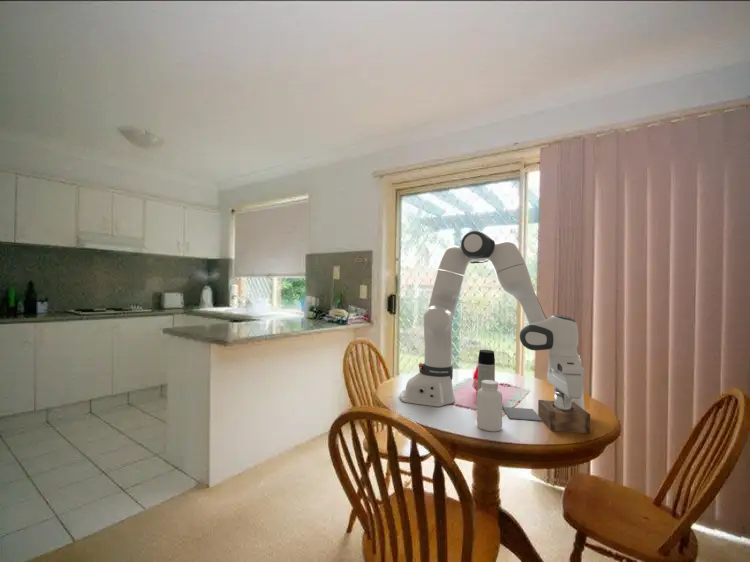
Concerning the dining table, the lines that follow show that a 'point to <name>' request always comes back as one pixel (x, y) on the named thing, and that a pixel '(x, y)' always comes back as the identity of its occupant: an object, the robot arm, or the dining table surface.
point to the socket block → (564, 417)
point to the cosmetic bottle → (581, 401)
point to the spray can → (486, 366)
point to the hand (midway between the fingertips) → (562, 403)
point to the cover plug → (560, 401)
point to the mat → (521, 414)
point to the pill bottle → (489, 406)
